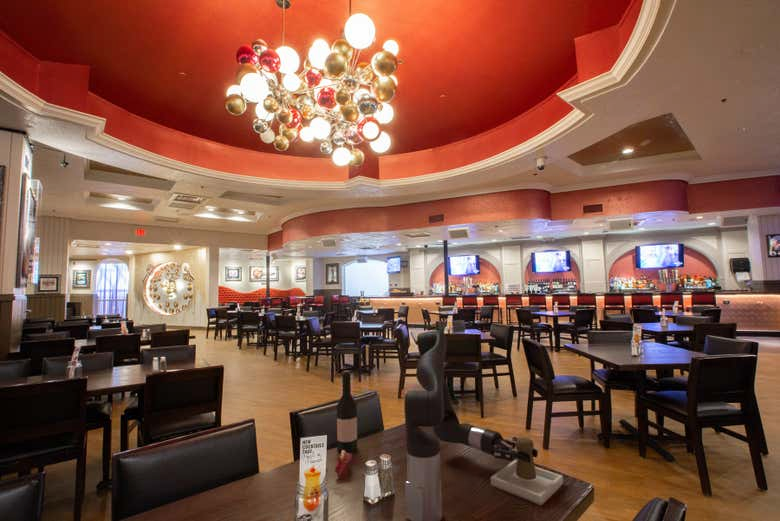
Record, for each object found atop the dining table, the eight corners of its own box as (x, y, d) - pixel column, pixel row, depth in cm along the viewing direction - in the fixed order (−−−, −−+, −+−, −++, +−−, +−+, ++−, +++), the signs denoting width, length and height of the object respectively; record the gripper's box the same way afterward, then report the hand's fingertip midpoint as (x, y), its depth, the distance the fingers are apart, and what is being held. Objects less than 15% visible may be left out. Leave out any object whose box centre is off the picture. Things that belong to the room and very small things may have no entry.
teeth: (351, 455, 122) (305, 457, 122) (351, 480, 121) (305, 482, 121) (353, 443, 132) (311, 445, 132) (353, 466, 132) (311, 468, 131)
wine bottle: (333, 452, 142) (332, 373, 145) (342, 443, 150) (341, 368, 153) (353, 454, 140) (351, 373, 142) (361, 445, 148) (359, 369, 150)
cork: (538, 480, 113) (536, 443, 113) (517, 478, 114) (516, 442, 115) (534, 470, 119) (533, 435, 119) (514, 469, 120) (513, 434, 120)
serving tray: (541, 505, 104) (540, 496, 105) (490, 485, 116) (490, 477, 116) (563, 484, 116) (562, 475, 116) (515, 467, 127) (514, 459, 127)
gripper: (473, 435, 122) (523, 451, 110) (495, 423, 132) (543, 436, 120) (474, 458, 122) (524, 477, 109) (496, 445, 132) (544, 460, 119)
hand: (533, 456), depth 115 cm, fingers closed on cork, 4 cm apart
